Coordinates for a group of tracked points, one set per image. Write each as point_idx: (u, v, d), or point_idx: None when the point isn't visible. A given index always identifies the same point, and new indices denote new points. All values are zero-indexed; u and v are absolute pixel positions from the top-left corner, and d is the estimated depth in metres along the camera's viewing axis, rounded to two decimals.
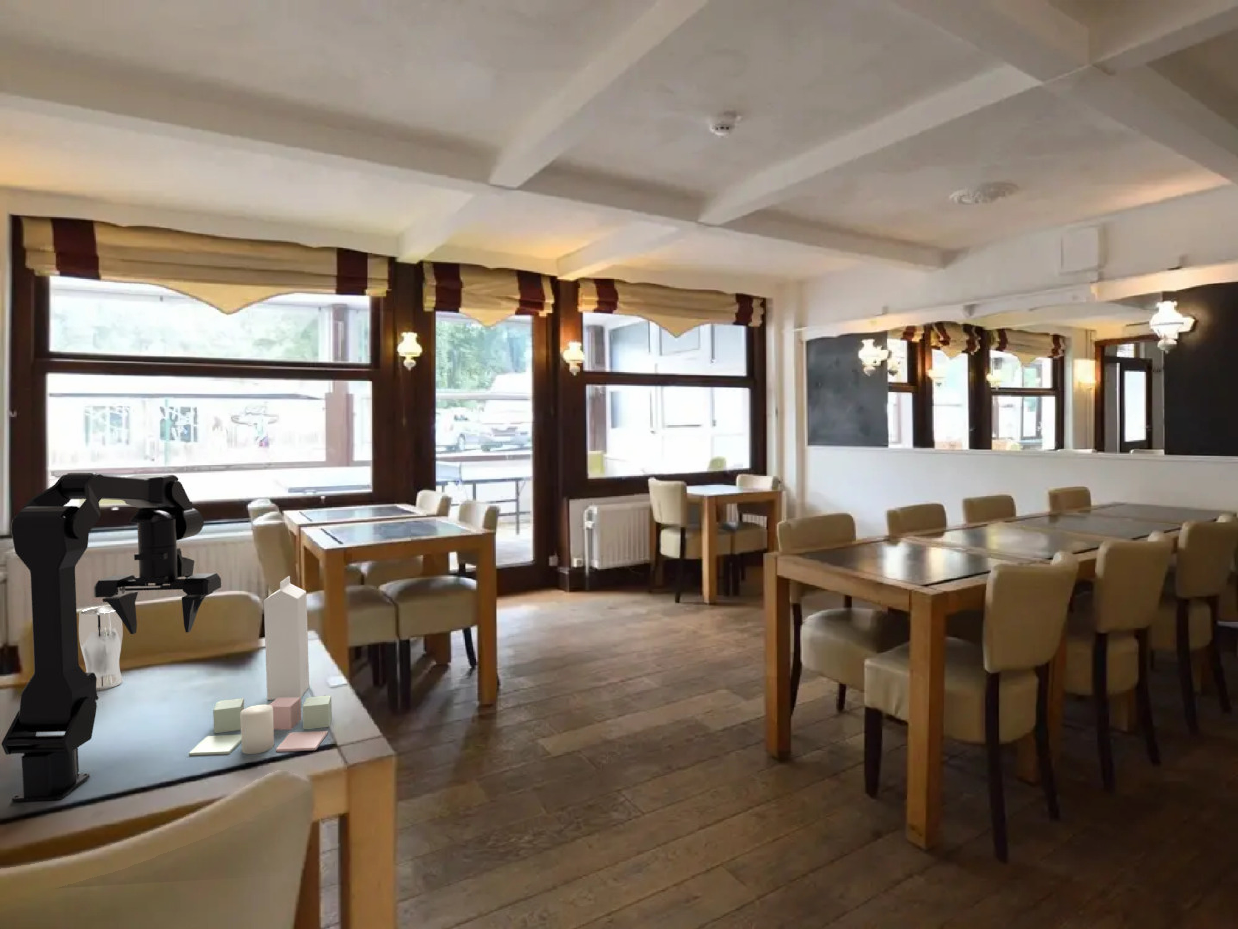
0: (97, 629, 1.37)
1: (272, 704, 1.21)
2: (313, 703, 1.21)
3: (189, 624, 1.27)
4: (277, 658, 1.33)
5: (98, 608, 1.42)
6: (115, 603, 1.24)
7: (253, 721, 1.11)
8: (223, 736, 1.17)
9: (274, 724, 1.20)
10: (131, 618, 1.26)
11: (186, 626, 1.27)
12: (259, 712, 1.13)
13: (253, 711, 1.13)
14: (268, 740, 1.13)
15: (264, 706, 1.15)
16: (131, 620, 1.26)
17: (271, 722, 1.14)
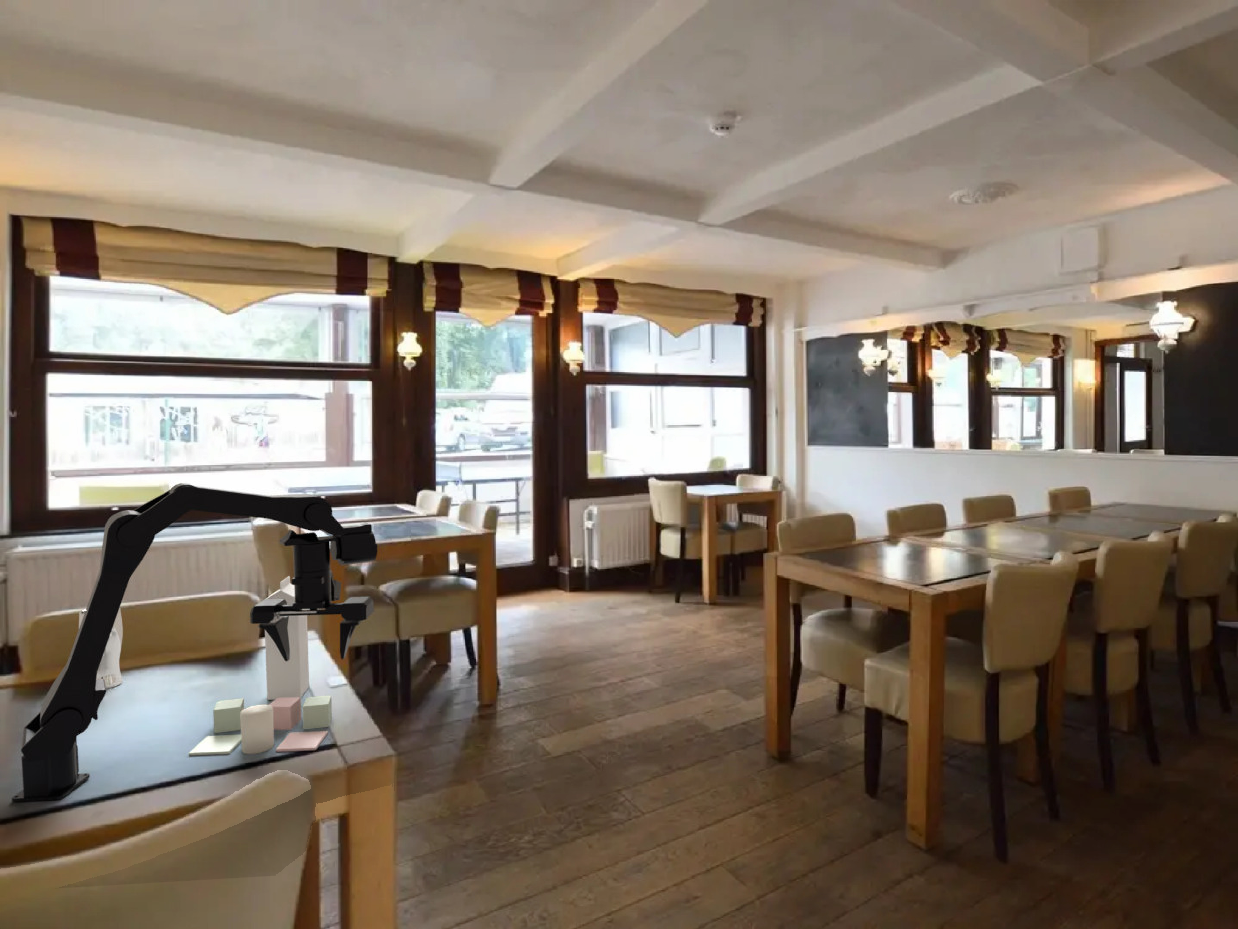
0: None
1: (272, 704, 1.21)
2: (313, 703, 1.21)
3: (345, 650, 1.22)
4: (277, 658, 1.33)
5: None
6: (272, 629, 1.19)
7: (253, 721, 1.11)
8: (223, 736, 1.17)
9: (274, 724, 1.20)
10: (285, 644, 1.21)
11: (342, 652, 1.22)
12: (259, 712, 1.13)
13: (253, 711, 1.13)
14: (268, 740, 1.13)
15: (264, 706, 1.15)
16: (285, 646, 1.21)
17: (271, 722, 1.14)
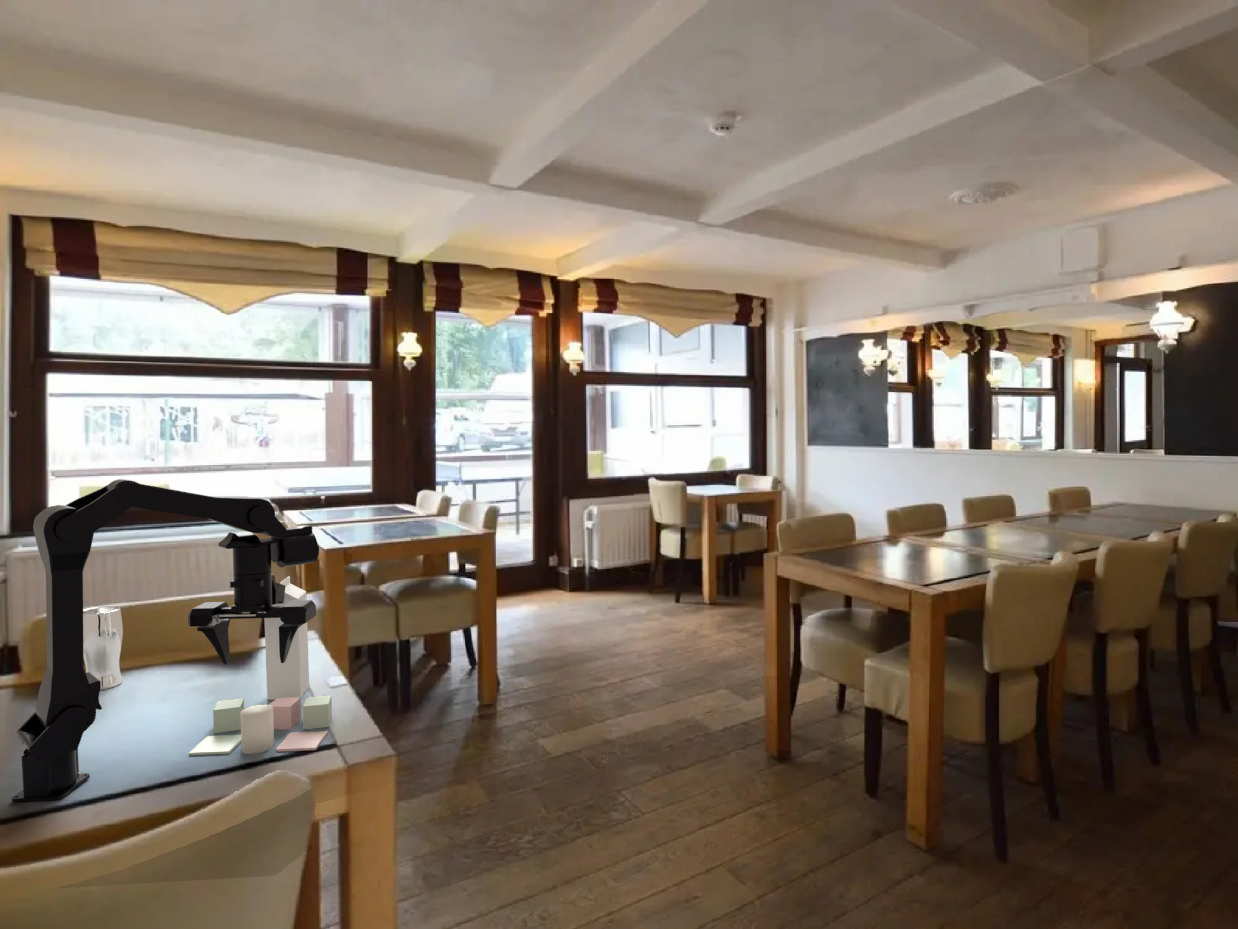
0: (97, 629, 1.37)
1: (272, 704, 1.21)
2: (313, 703, 1.21)
3: (285, 654, 1.21)
4: (277, 658, 1.33)
5: (98, 608, 1.42)
6: (210, 632, 1.18)
7: (253, 721, 1.11)
8: (223, 736, 1.17)
9: (274, 724, 1.20)
10: (225, 648, 1.20)
11: (281, 656, 1.21)
12: (259, 712, 1.13)
13: (253, 711, 1.13)
14: (268, 740, 1.13)
15: (264, 706, 1.15)
16: (225, 650, 1.20)
17: (271, 722, 1.14)
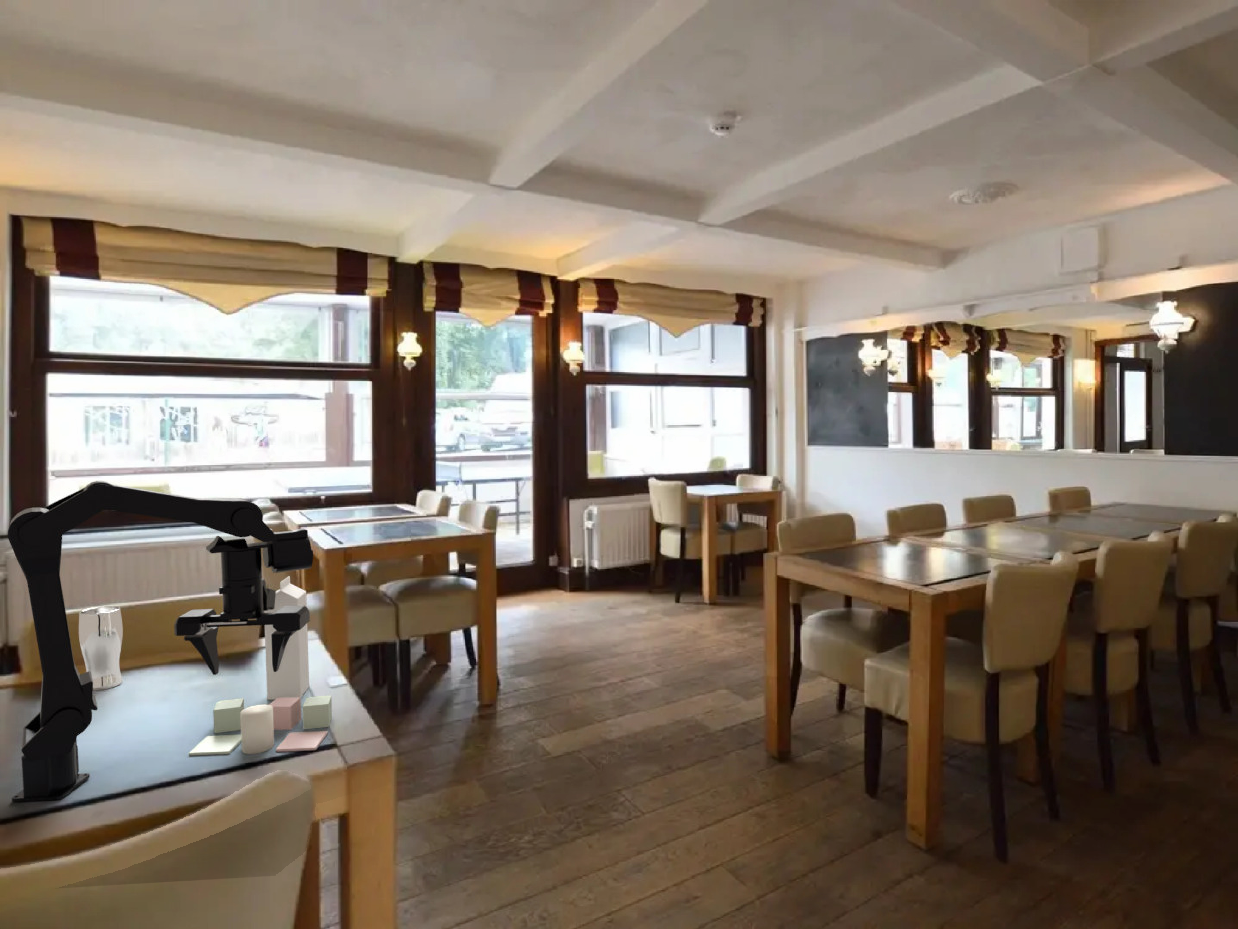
0: (97, 629, 1.37)
1: (272, 704, 1.21)
2: (313, 703, 1.21)
3: (278, 663, 1.16)
4: None
5: (98, 608, 1.42)
6: (198, 642, 1.12)
7: (253, 721, 1.11)
8: (223, 736, 1.17)
9: (274, 724, 1.20)
10: (214, 657, 1.15)
11: (274, 665, 1.15)
12: (259, 712, 1.13)
13: (253, 711, 1.13)
14: (268, 740, 1.13)
15: (264, 706, 1.15)
16: (214, 659, 1.15)
17: (271, 722, 1.14)
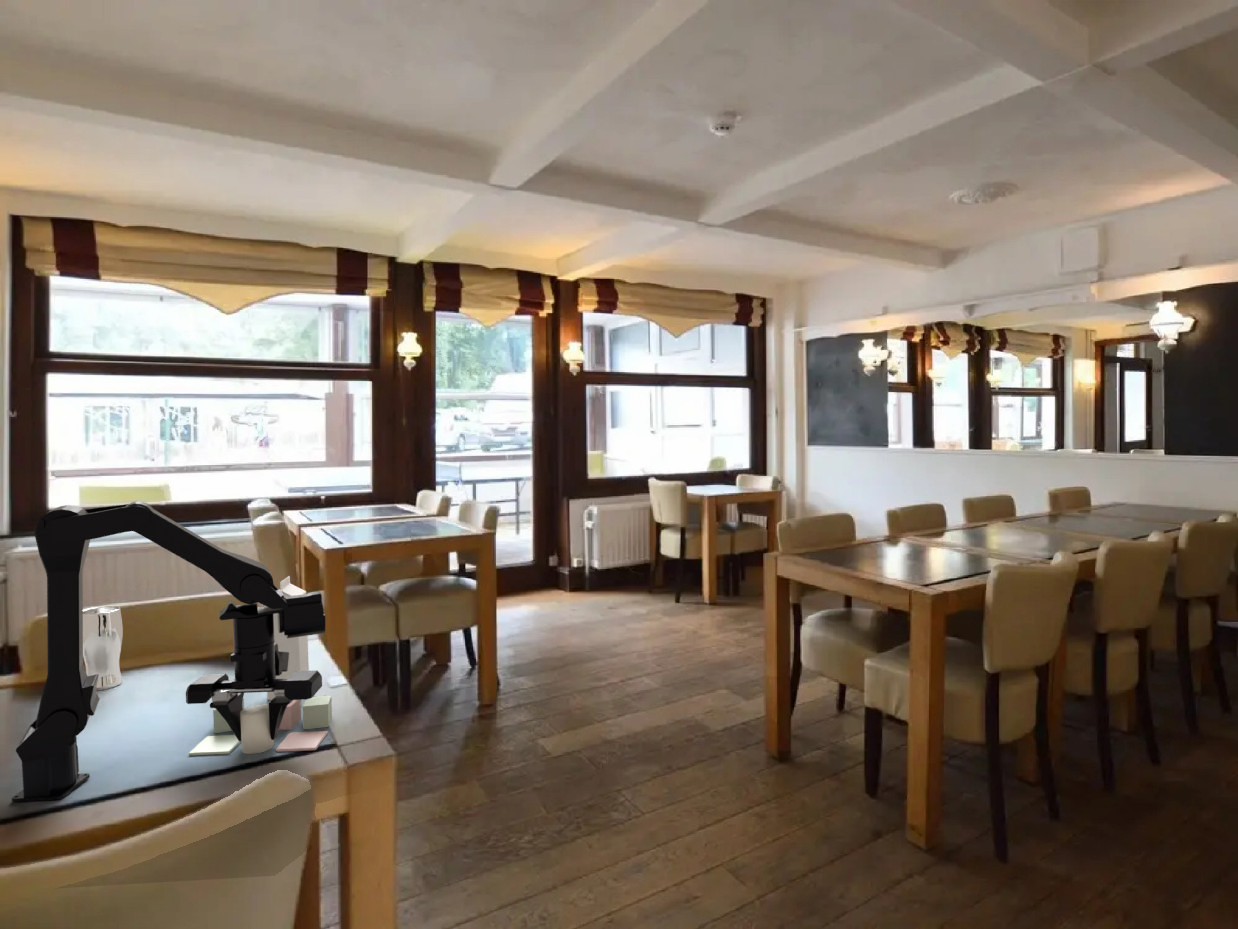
0: (97, 629, 1.37)
1: None
2: (313, 703, 1.21)
3: (275, 731, 1.13)
4: None
5: (98, 608, 1.42)
6: (223, 709, 1.10)
7: (253, 720, 1.11)
8: (223, 736, 1.17)
9: None
10: (239, 723, 1.13)
11: (272, 733, 1.13)
12: (259, 712, 1.13)
13: (253, 711, 1.13)
14: (268, 740, 1.13)
15: (264, 706, 1.15)
16: (239, 726, 1.13)
17: None
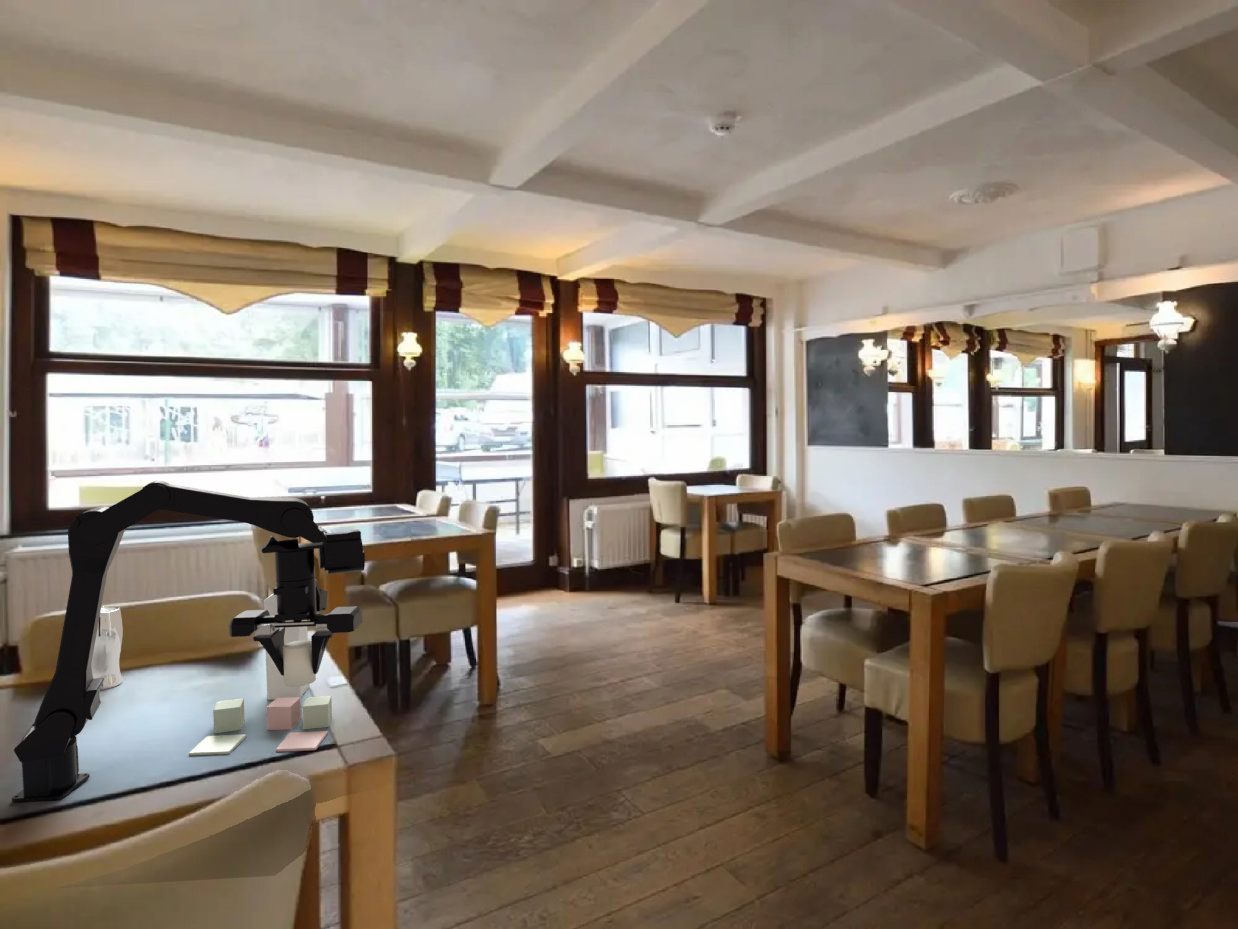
0: (97, 629, 1.37)
1: (272, 704, 1.21)
2: (313, 703, 1.21)
3: (317, 665, 1.14)
4: None
5: None
6: (267, 642, 1.11)
7: (296, 654, 1.12)
8: (223, 736, 1.17)
9: (274, 724, 1.20)
10: (282, 658, 1.14)
11: (314, 667, 1.14)
12: (302, 646, 1.14)
13: (295, 645, 1.14)
14: (311, 674, 1.14)
15: (305, 641, 1.16)
16: (282, 660, 1.14)
17: None
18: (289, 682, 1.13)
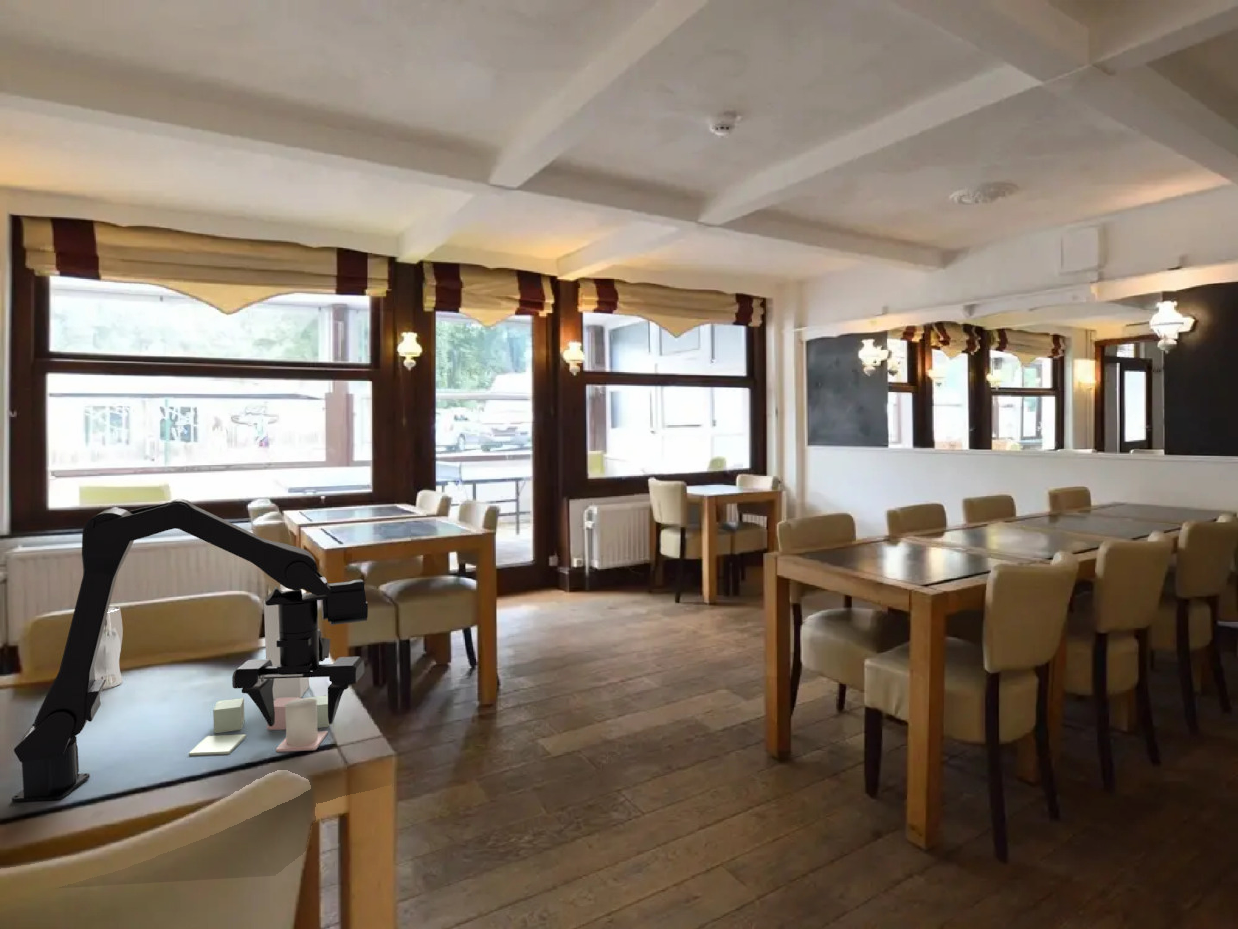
0: None
1: None
2: None
3: (333, 715, 1.15)
4: (277, 658, 1.33)
5: None
6: (255, 694, 1.12)
7: (299, 713, 1.13)
8: (223, 736, 1.17)
9: (274, 724, 1.20)
10: (270, 709, 1.14)
11: (330, 717, 1.15)
12: (304, 705, 1.14)
13: (297, 705, 1.14)
14: (313, 733, 1.14)
15: (308, 699, 1.17)
16: (270, 711, 1.14)
17: (315, 715, 1.15)
18: (291, 742, 1.13)
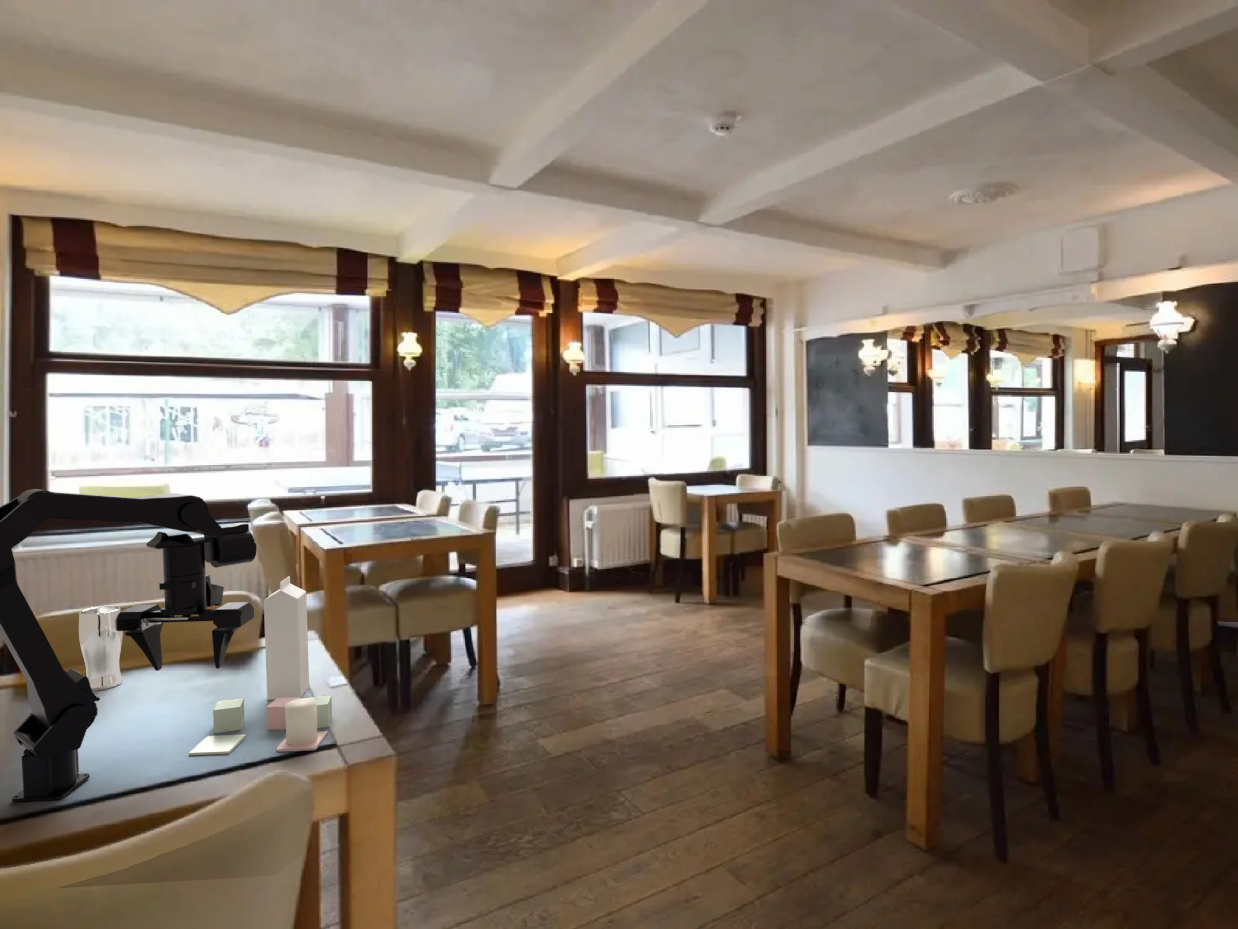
0: (97, 629, 1.37)
1: (272, 704, 1.21)
2: None
3: (220, 659, 1.15)
4: (277, 658, 1.33)
5: (98, 608, 1.42)
6: (138, 637, 1.11)
7: (299, 713, 1.13)
8: (223, 736, 1.17)
9: (274, 724, 1.20)
10: (156, 653, 1.14)
11: (216, 661, 1.15)
12: (304, 705, 1.14)
13: (297, 705, 1.14)
14: (313, 733, 1.14)
15: (308, 699, 1.17)
16: (156, 655, 1.14)
17: (315, 715, 1.15)
18: (291, 742, 1.13)
